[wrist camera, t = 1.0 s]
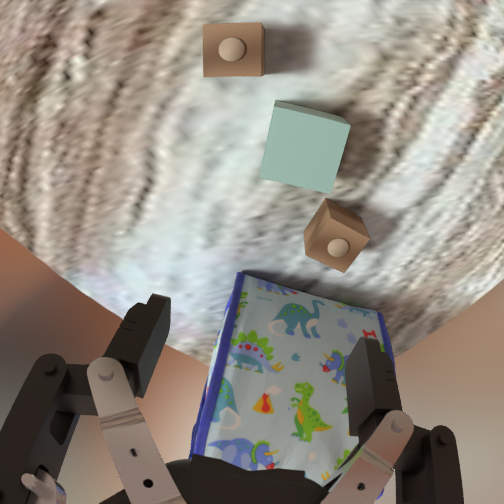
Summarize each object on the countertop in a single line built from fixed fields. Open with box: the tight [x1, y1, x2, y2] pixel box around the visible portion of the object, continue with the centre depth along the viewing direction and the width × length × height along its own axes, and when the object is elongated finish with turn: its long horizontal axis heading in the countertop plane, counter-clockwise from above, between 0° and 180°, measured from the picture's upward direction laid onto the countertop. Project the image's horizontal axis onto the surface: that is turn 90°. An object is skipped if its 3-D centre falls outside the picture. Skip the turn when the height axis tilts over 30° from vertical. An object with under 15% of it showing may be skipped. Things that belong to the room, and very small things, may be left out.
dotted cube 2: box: [203, 23, 265, 77], centre depth 26 cm, size 5×5×5 cm
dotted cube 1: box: [304, 198, 370, 273], centre depth 35 cm, size 5×5×5 cm
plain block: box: [259, 100, 351, 194], centre depth 30 cm, size 7×7×5 cm
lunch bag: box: [188, 272, 397, 500], centre depth 36 cm, size 22×17×26 cm
